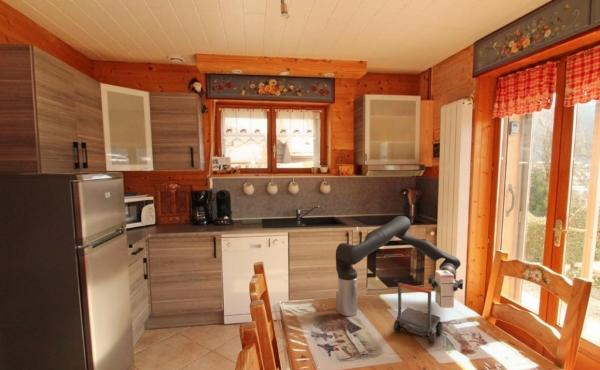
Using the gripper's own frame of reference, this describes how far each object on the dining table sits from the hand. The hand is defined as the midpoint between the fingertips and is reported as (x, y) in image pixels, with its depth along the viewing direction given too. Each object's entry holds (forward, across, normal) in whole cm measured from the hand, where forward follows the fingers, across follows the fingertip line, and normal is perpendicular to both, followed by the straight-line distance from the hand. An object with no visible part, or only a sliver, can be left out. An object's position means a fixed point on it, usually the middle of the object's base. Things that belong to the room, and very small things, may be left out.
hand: (444, 287), depth 127 cm
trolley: (+8, -9, +18) cm, 22 cm away
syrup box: (-2, 0, +9) cm, 9 cm away
